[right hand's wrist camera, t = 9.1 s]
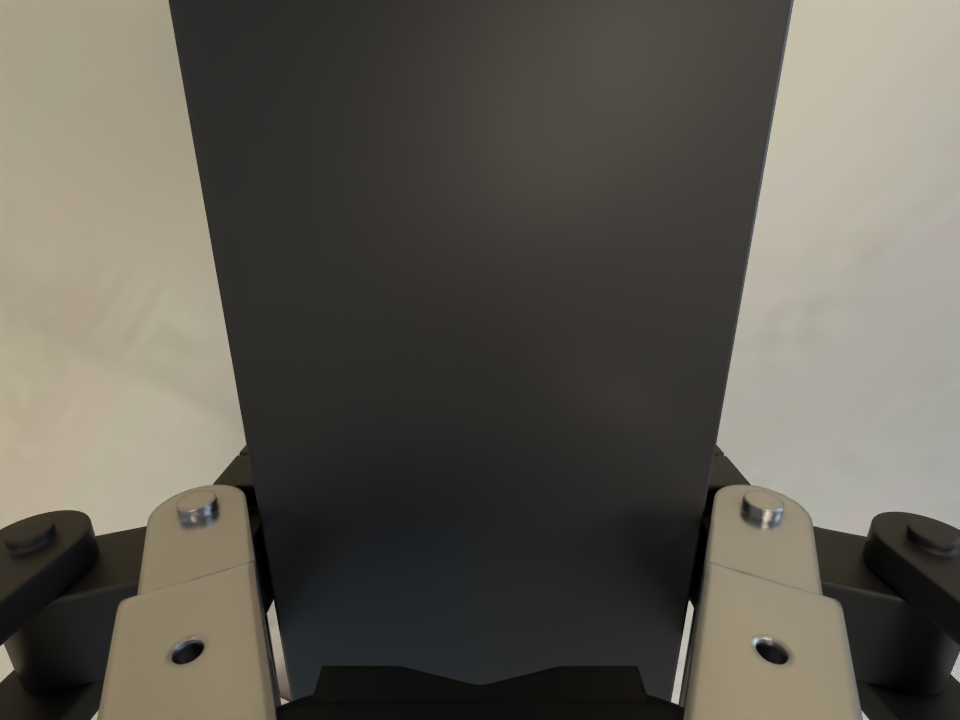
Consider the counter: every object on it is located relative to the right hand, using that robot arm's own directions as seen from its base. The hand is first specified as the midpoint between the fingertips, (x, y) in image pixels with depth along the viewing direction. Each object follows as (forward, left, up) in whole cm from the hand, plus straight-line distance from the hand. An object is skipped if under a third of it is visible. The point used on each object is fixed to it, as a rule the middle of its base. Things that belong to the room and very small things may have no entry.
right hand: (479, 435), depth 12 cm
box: (-7, +2, -8) cm, 11 cm away
